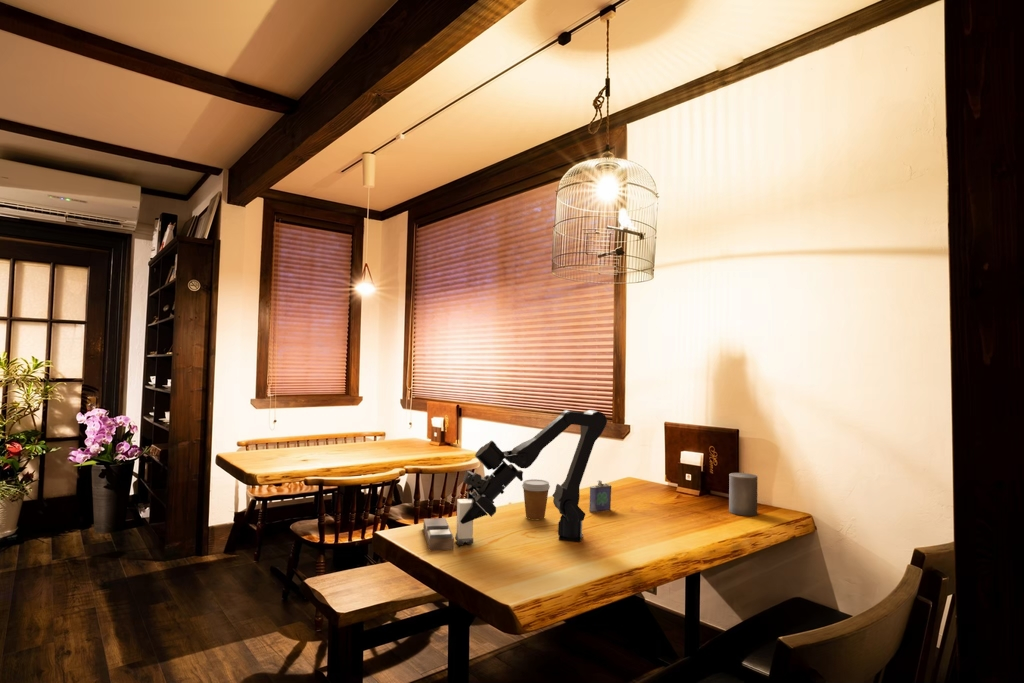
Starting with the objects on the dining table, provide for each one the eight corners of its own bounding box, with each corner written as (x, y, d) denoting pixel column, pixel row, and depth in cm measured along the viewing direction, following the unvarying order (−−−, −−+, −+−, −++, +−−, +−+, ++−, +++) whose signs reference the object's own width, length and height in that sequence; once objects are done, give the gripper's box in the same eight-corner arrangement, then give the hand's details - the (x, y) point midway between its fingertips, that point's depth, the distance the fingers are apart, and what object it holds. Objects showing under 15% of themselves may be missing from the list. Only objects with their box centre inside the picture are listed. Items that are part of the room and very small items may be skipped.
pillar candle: (763, 516, 204) (763, 473, 205) (739, 516, 202) (740, 474, 203) (745, 509, 214) (746, 468, 214) (723, 510, 211) (723, 469, 212)
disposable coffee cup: (547, 522, 188) (548, 486, 189) (518, 520, 190) (519, 483, 191) (551, 515, 198) (551, 480, 198) (523, 512, 200) (524, 478, 200)
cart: (470, 539, 169) (472, 498, 169) (473, 545, 163) (475, 503, 163) (454, 540, 167) (455, 498, 168) (457, 546, 162) (458, 503, 162)
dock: (445, 527, 179) (445, 514, 180) (453, 549, 159) (454, 534, 159) (423, 528, 178) (423, 515, 178) (429, 550, 158) (429, 535, 158)
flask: (592, 513, 202) (592, 482, 202) (586, 511, 204) (587, 481, 205) (612, 510, 206) (613, 480, 207) (607, 508, 209) (607, 479, 209)
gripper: (474, 456, 176) (437, 493, 173) (485, 467, 158) (444, 509, 155) (499, 481, 178) (462, 518, 175) (512, 495, 159) (472, 537, 156)
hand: (460, 520), depth 165 cm, fingers closed on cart, 5 cm apart
